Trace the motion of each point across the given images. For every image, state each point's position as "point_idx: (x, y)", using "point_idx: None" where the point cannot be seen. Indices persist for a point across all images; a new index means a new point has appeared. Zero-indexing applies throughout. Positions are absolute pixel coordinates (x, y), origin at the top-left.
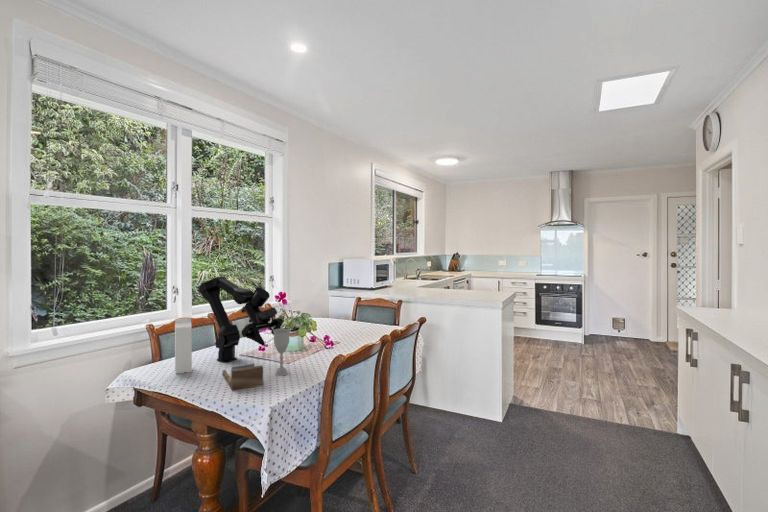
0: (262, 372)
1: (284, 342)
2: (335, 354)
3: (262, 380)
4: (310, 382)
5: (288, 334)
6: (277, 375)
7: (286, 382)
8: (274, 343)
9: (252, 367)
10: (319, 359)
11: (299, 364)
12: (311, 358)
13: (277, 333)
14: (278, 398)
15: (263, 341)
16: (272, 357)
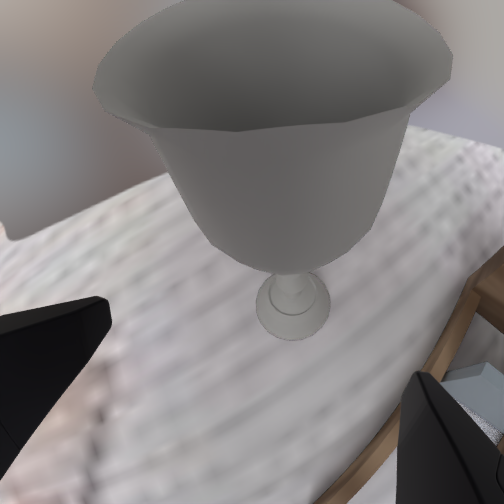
0: (501, 250)
1: (333, 107)
2: (3, 233)
3: (480, 269)
4: None
5: (265, 27)
6: (329, 305)
7: (388, 207)
8: (366, 231)
9: None
10: (44, 253)
11: (112, 301)
12: (34, 293)
13: (415, 46)
14: (493, 160)
15: (435, 398)
16: (56, 486)
